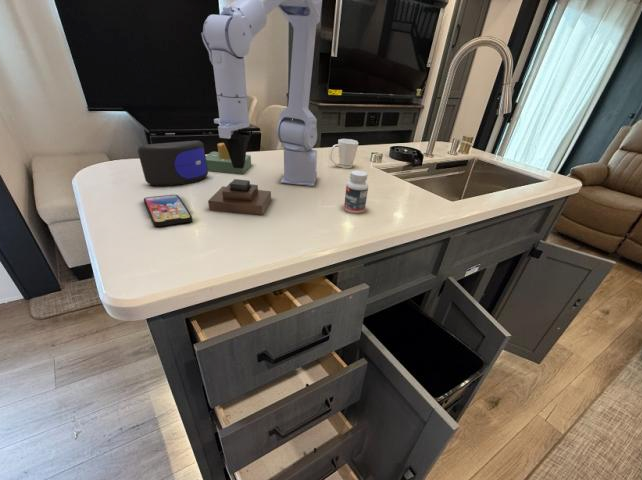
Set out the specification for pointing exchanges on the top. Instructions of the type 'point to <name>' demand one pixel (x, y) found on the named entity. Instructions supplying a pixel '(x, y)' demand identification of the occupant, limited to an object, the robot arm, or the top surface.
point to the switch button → (240, 185)
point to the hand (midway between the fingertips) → (238, 167)
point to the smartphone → (167, 210)
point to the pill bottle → (356, 192)
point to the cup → (345, 152)
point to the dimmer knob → (223, 151)
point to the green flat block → (225, 164)
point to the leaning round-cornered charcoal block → (173, 162)
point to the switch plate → (240, 200)
